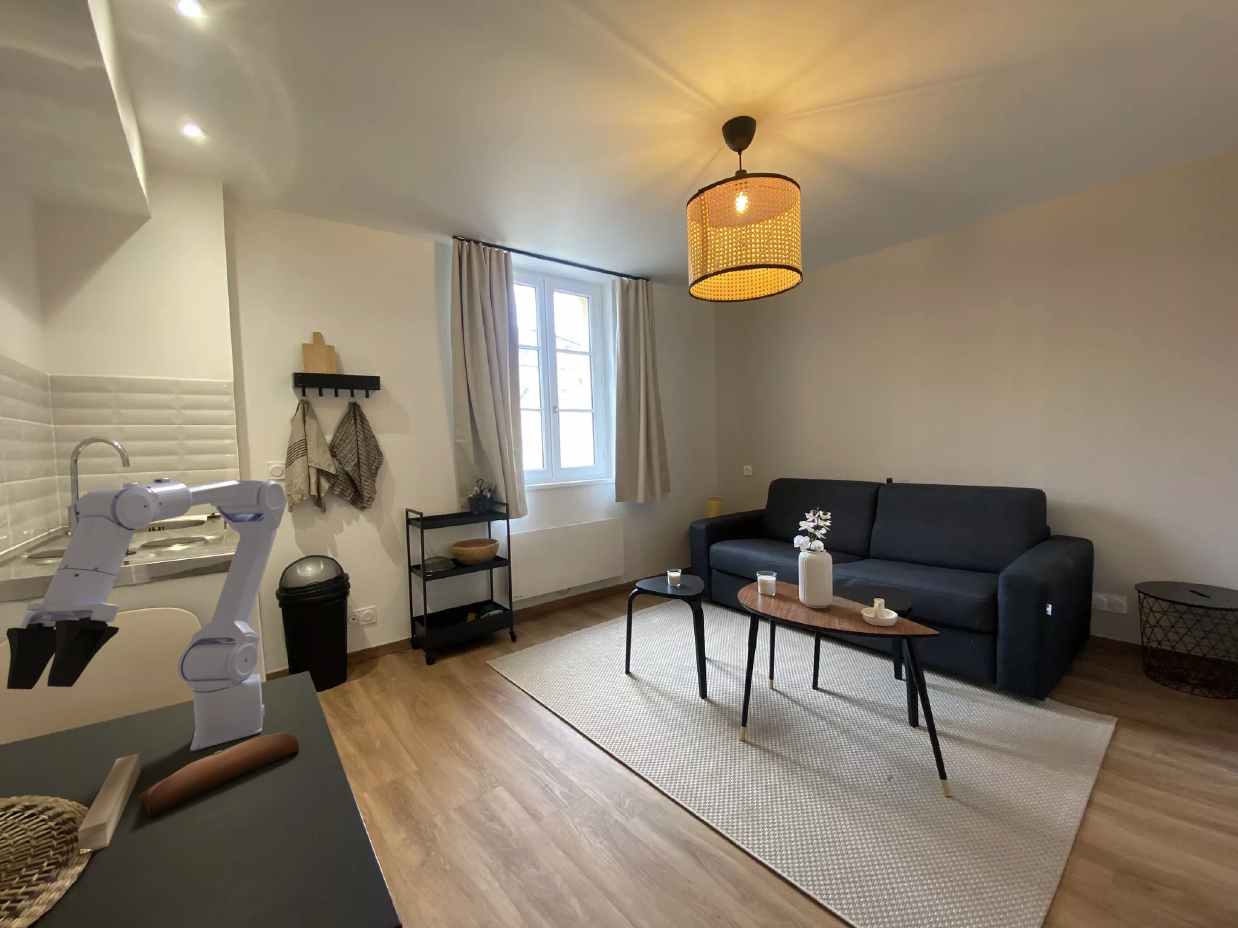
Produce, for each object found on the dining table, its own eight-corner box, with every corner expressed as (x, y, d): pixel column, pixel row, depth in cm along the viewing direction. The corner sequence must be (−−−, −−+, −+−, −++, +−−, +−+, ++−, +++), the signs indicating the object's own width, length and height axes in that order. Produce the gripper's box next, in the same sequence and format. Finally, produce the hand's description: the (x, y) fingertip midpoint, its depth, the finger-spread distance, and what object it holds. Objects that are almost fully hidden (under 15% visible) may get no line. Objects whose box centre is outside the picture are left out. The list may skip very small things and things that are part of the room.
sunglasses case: (278, 736, 87) (284, 708, 85) (295, 770, 83) (302, 741, 81) (133, 796, 72) (136, 764, 70) (145, 840, 69) (149, 808, 67)
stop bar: (140, 772, 78) (138, 752, 78) (107, 845, 63) (105, 821, 63) (118, 778, 77) (117, 758, 77) (79, 855, 62) (78, 830, 62)
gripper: (12, 573, 66) (-45, 688, 61) (86, 561, 62) (34, 684, 56) (79, 584, 72) (34, 690, 67) (151, 574, 68) (109, 686, 62)
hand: (39, 687), depth 62 cm, fingers open, 7 cm apart
